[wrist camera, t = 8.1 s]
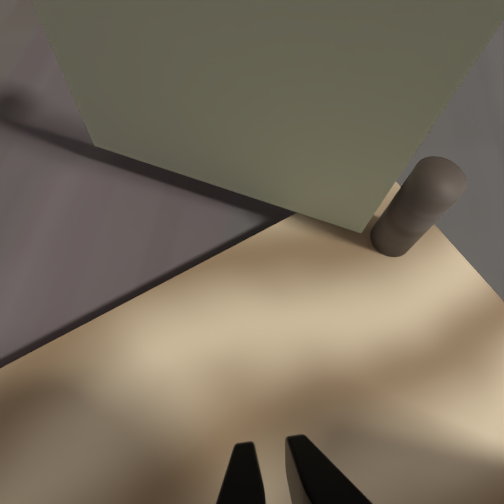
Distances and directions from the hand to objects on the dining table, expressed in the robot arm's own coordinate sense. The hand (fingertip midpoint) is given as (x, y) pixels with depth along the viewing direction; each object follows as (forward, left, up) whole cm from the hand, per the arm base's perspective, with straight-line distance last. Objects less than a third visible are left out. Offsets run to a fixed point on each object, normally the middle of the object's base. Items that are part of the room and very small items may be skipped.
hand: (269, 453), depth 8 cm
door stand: (0, -2, -8) cm, 9 cm away
